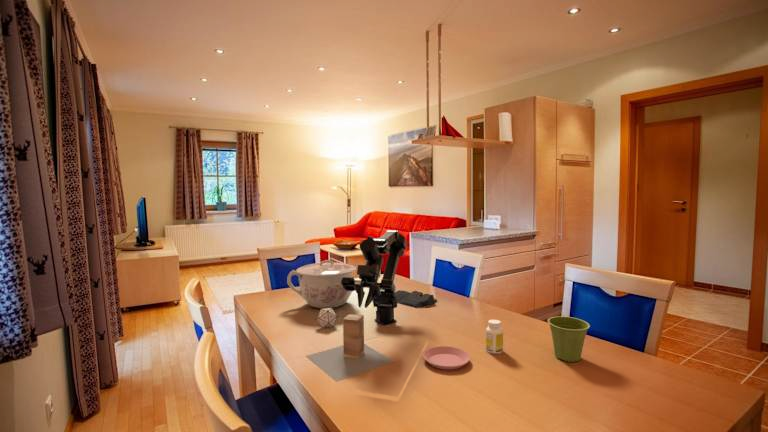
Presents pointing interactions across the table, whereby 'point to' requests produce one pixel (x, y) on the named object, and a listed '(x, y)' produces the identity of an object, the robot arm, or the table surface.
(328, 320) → the game die
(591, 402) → the table surface
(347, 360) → the rubber mat
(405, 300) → the dark slate chunk
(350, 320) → the walnut block
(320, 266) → the chamber pot
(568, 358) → the plant pot
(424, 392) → the table surface
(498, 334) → the supplement bottle
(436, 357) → the plate
